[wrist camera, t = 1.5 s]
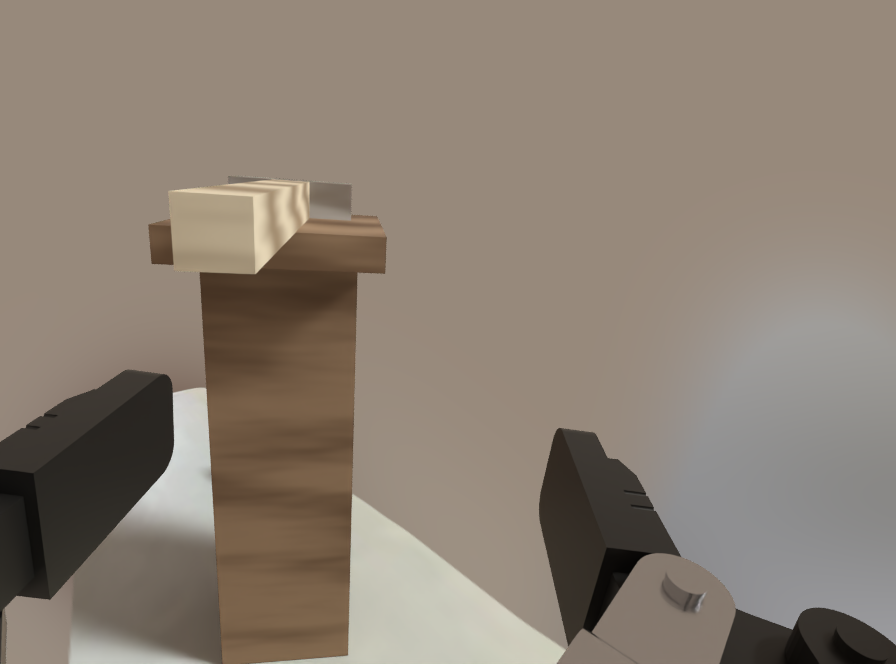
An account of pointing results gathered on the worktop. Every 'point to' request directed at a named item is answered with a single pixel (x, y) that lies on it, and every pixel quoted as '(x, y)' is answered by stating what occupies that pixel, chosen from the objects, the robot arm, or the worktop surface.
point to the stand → (284, 436)
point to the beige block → (247, 220)
